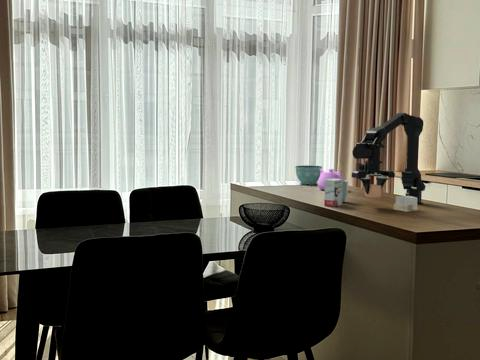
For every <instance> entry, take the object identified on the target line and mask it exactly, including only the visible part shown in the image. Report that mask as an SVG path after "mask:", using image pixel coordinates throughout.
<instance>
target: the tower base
mask: <svg viewBox="0 0 480 360" xmlns="http://www.w3.org/2000/svg"><path fill="white" fill-rule="evenodd" d="M418 206H419V204H417V205H401V204H397V203H396V202H394V203H393V210H395V211H400V212H406V213H407V212H415V211H418Z"/></svg>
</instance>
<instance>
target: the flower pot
mask: <svg viewBox="0 0 480 360" xmlns="http://www.w3.org/2000/svg"><path fill="white" fill-rule="evenodd" d="M294 168H295V174H296V177H297V179H298V181H299V182H300V185H305V184H309V186H311V185H316V184H318V180H319V177H320V174H321V172H320V169H322V170H323V166H322V165H296V166H295V167H294Z"/></svg>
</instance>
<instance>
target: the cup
mask: <svg viewBox="0 0 480 360" xmlns="http://www.w3.org/2000/svg"><path fill="white" fill-rule="evenodd" d="M348 189H349V182H348V180H345V179H343V187H342V203H344V202H346V200H347V198H348V192H349V191H348Z"/></svg>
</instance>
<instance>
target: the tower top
mask: <svg viewBox="0 0 480 360" xmlns="http://www.w3.org/2000/svg"><path fill="white" fill-rule="evenodd" d="M395 203H397V204H401V205H417V198H416V197H412V196H406V195H397V196H395Z"/></svg>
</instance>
